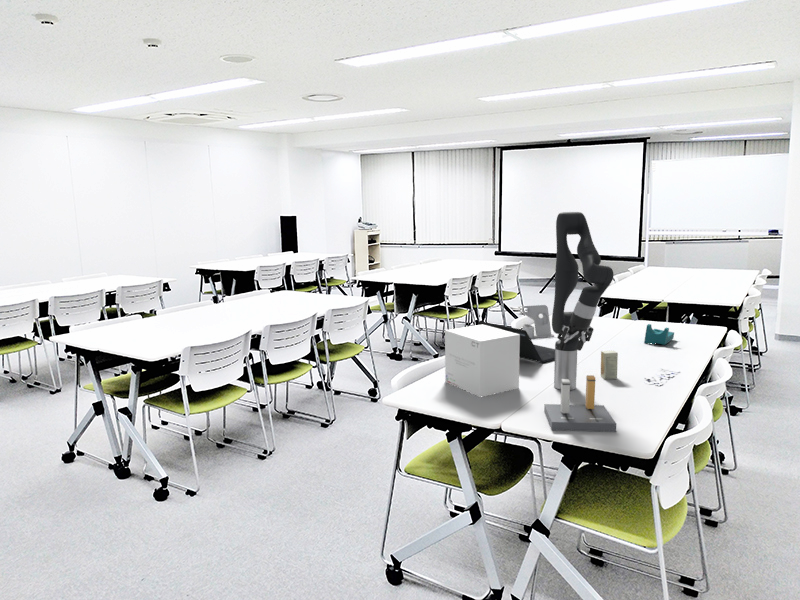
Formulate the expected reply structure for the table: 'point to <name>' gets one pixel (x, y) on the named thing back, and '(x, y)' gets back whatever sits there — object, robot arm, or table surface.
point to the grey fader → (565, 395)
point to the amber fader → (590, 391)
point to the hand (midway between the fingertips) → (569, 349)
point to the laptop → (527, 345)
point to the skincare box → (609, 364)
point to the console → (579, 418)
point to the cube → (482, 359)
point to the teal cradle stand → (658, 335)
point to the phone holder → (538, 321)
